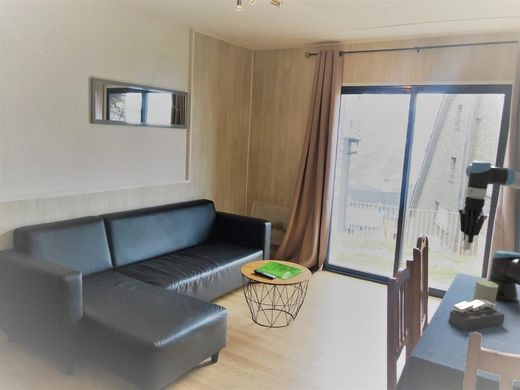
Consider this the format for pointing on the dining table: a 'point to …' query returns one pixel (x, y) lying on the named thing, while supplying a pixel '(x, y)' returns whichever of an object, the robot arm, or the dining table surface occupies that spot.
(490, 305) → the rocker
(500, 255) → the robot arm
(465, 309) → the rocker
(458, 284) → the dining table surface
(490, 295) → the can
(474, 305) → the rocker
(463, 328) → the rocker switch panel
